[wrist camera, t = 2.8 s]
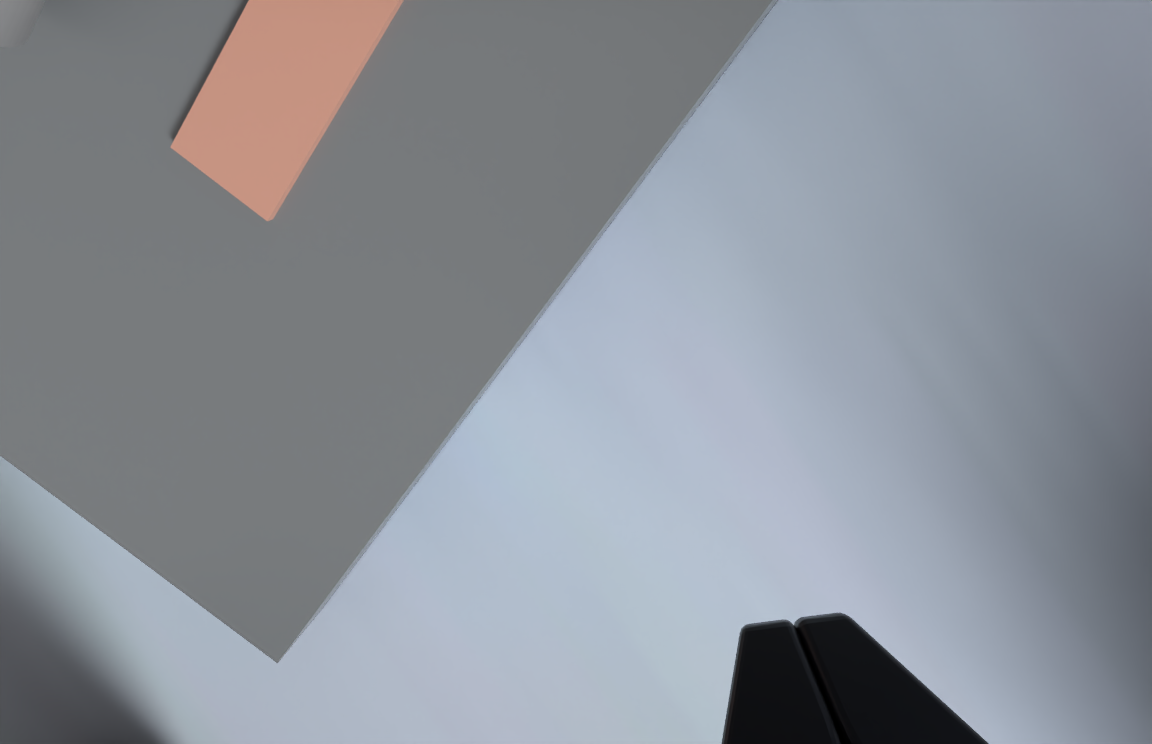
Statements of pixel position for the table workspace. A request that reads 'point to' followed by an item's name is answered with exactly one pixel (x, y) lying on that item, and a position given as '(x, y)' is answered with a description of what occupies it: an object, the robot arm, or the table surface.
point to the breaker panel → (302, 252)
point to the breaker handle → (18, 20)
